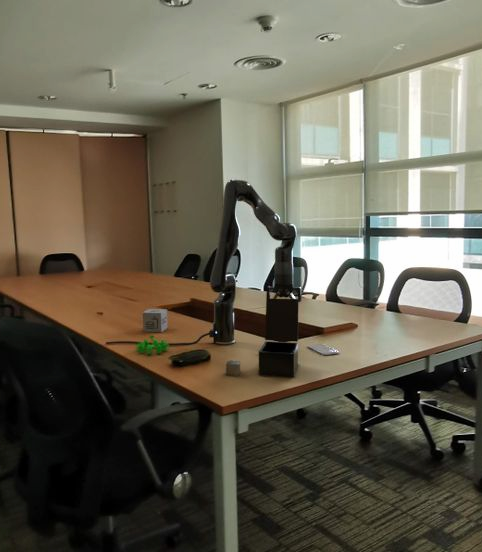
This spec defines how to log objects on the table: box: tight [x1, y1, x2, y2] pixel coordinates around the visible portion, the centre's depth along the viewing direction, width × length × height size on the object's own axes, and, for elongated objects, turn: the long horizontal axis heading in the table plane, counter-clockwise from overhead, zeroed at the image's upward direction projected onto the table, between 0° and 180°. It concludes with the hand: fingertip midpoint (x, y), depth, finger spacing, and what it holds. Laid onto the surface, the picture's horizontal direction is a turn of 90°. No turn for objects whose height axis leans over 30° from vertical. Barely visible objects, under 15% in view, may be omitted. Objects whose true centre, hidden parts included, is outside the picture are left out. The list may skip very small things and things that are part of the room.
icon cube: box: [142, 308, 168, 333], centre depth 258 cm, size 10×10×10 cm
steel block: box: [225, 360, 241, 377], centre depth 183 cm, size 4×4×4 cm
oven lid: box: [264, 297, 300, 343], centre depth 197 cm, size 17×13×5 cm
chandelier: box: [135, 334, 170, 356], centre depth 217 cm, size 15×15×7 cm
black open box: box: [258, 340, 299, 378], centre depth 187 cm, size 16×13×9 cm
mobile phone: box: [307, 343, 339, 356], centre depth 213 cm, size 8×1×15 cm
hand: (283, 311), depth 201 cm, fingers open, 8 cm apart
